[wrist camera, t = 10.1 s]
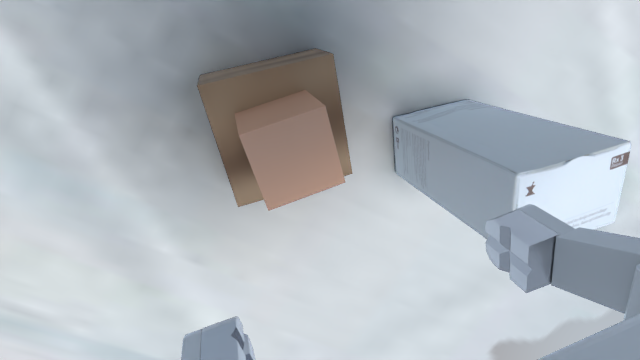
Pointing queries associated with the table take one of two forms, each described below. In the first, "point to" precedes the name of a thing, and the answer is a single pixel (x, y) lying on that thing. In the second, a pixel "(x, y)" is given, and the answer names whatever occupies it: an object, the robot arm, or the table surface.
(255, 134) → the terracotta cube
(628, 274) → the robot arm
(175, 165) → the table surface
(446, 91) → the table surface
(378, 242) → the table surface
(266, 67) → the walnut block
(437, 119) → the skincare box
